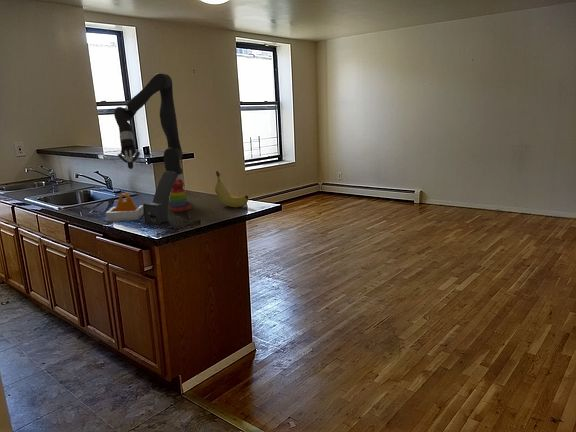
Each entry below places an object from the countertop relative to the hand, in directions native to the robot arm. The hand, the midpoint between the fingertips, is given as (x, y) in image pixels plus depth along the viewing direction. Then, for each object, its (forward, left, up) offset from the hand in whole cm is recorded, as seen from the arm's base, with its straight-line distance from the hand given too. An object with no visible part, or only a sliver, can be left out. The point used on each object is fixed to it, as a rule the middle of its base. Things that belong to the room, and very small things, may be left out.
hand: (131, 168), depth 256 cm
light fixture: (-23, +39, -23) cm, 50 cm away
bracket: (-1, +26, -22) cm, 35 cm away
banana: (-57, +16, -23) cm, 64 cm away
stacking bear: (-28, +17, -23) cm, 40 cm away
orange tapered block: (0, +23, -23) cm, 33 cm away
